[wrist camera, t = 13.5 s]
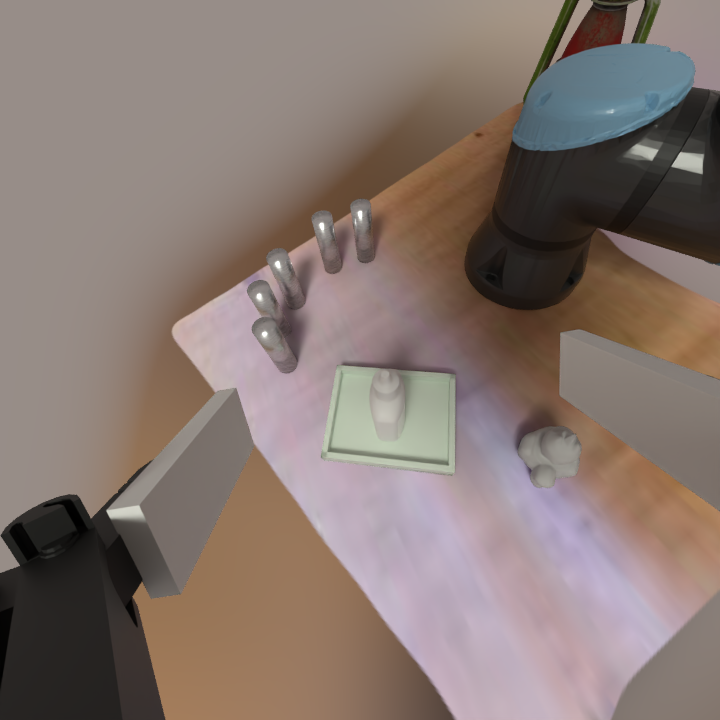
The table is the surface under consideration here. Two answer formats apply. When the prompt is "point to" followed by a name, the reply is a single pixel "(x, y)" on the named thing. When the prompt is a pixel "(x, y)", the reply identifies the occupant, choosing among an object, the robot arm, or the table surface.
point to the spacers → (273, 319)
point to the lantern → (595, 29)
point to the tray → (420, 432)
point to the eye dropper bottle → (388, 404)
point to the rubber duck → (550, 454)
